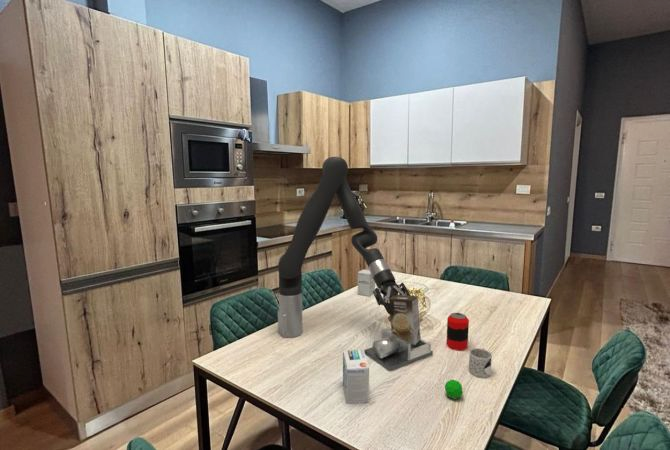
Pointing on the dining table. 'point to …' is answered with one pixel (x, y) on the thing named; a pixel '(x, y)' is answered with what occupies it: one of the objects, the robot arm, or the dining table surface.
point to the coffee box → (405, 317)
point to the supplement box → (365, 283)
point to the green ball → (453, 389)
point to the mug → (480, 363)
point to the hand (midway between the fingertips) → (400, 311)
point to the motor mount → (397, 351)
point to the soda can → (457, 331)
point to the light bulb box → (355, 376)
